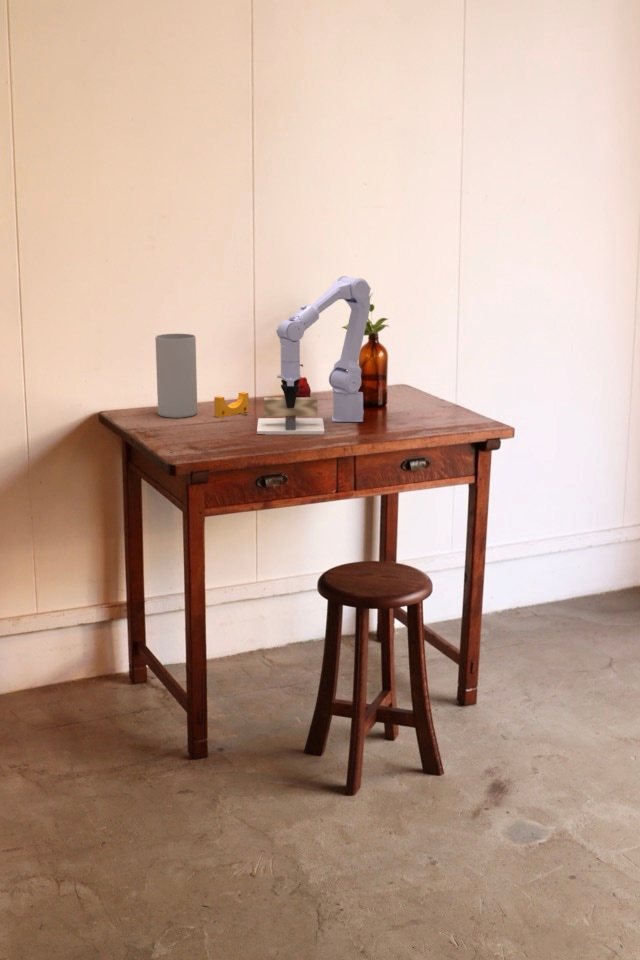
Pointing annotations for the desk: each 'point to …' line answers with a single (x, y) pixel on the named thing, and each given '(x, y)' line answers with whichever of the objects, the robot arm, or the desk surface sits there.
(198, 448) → the desk surface
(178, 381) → the cylinder vase
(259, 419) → the stand
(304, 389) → the red clay folk toy
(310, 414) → the oak bar
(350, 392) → the robot arm
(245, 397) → the pipe clamp
